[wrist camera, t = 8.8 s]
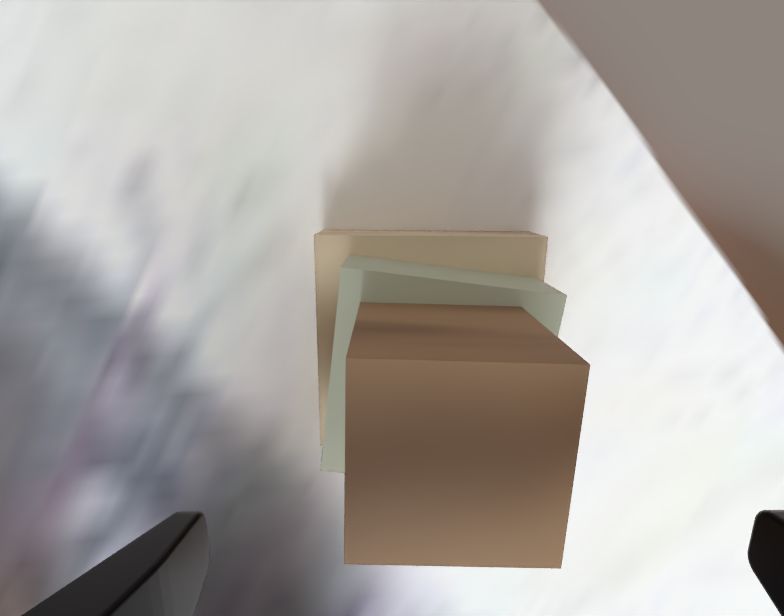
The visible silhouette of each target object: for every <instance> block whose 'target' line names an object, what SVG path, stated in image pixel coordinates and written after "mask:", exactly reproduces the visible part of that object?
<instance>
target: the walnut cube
mask: <svg viewBox="0 0 784 616" xmlns="http://www.w3.org/2000/svg"><path fill="white" fill-rule="evenodd" d="M589 369H590V364H589V363H587V362H586V361H585V360H584V359H583V358H582V357H580V356H579V355H578V354H577V353H576V352H574V351H573V350H572V349H571V348H570V347H569V346H567V345H566V344H565V343H564V342H563V341H561V340H560V339H559V338H558V337H557V336H556V335H554V334H553V333H552V332H551V331H550V330H548V329H547V328H546V327H545V326H544V325H543V324H541V323H540V322H539V321H538V320H537V319H535V318H534V317H533V316H532V315H531V314H530V313H528V312H527V311H526V310H525V309H524V308H522V307H516V306H481V305H445V304H410V303H375V302H360V305H359V309H358V313H357V316H356V320H355V324H354V328H353V332H352V336H351V339H350V343H349V347H348V351H347V355H346V375H345V514H344V564H363V565H413V566H463V567H514V568H561V565H562V558H563V551H564V544H565V537H566V530H567V523H568V516H569V509H570V502H571V495H572V488H573V481H574V474H575V467H576V460H577V453H578V446H579V439H580V432H581V425H582V418H583V411H584V404H585V397H586V390H587V383H588V376H589Z"/></svg>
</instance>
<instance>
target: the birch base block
mask: <svg viewBox="0 0 784 616" xmlns="http://www.w3.org/2000/svg"><path fill="white" fill-rule="evenodd" d="M547 240H548V237H546V236H543V235H539V234H535V233H531V232H514V231H395V230H322V231H320V232H319V233H317V234H315V235H314V250H315V282H316V313H317V345H318V376H319V408H320V440H321V446H323V439H324V429H325V420H326V410H327V400H328V390H329V381H330V371H331V361H332V351H333V342H334V332H335V322H336V312H337V303H338V293H339V283H340V273H341V266H342V265H343V263H344V262H345V260H346V259H347V257H348V256H349V254H350V255H358V256H366V257H374V258H382V259H390V260H397V261H405V262H413V263H421V264H429V265H437V266H445V267H453V268H461V269H469V270H477V271H484V272H492V273H500V274H508V275H516V276H524V277H532V278H537V279H539V280H541V281H543V282H544V274H545V262H546V251H547Z"/></svg>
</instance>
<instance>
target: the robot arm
mask: <svg viewBox="0 0 784 616" xmlns="http://www.w3.org/2000/svg"><path fill="white" fill-rule="evenodd" d="M748 560H749V563H750V566H751V568H752V570H753V572H754V573H755V575H756V576H757V578H758V580H759V581H760V583H761V584H762V586H763V587H764V589H765V591H766V592H767V594H768V595H769V597H770V598H771V600H772V602H773V603H774V605H775V606H776V608H777V609H778V611H779V613H780V614H781V616H784V510H763V511H760V512H759V513H758V514H757V515H756V517H755V521H754V525H753V530H752V534H751V538H750V543H749V547H748ZM209 561H210V552H209V543H208V534H207V525H206V518H205V516H204V514H203V513H202V512H199V511H181V512H176V513H175V514H173V515H171V516H170V517H168V518H167V519H165V520H164V521H162V522H161V523H159V524H158V525H156V526H155V527H153V528H152V529H150V530H149V531H147V532H146V533H144V534H143V535H141V536H140V537H138V538H137V539H135V540H134V541H132V542H131V543H129V544H128V545H126V546H125V547H123V548H122V549H120V550H119V551H117V552H116V553H114V554H113V555H111V556H110V557H108V558H107V559H105V560H104V561H102V562H101V563H99V564H98V565H96V566H95V567H93V568H92V569H90V570H89V571H87V572H86V573H84V574H83V575H81V576H80V577H78V578H77V579H75V580H74V581H72V582H71V583H69V584H68V585H66V586H65V587H63V588H62V589H60V590H59V591H57V592H56V593H55V594H53V595H52V596H50V597H49V598H47V599H46V600H44V601H43V602H41V603H40V604H38V605H37V606H35V607H34V608H32V609H31V610H29V611H28V612H26V613H25V614H23V615H22V616H193V615H194V612H195V609H196V606H197V603H198V599H199V596H200V593H201V590H202V587H203V584H204V581H205V577H206V574H207V571H208V567H209Z"/></svg>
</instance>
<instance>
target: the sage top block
mask: <svg viewBox="0 0 784 616" xmlns="http://www.w3.org/2000/svg"><path fill="white" fill-rule="evenodd" d="M566 297H567V295H566V294H564V293H562V292H560V291H558V290H557V289H555V288H553V287H551V286H550V285H548V284H546V283H544V282H543V281H541V280H539V279H537V278H532V277H524V276H516V275H508V274H500V273H492V272H484V271H477V270H469V269H461V268H453V267H445V266H437V265H429V264H421V263H413V262H405V261H397V260H390V259H382V258H374V257H366V256H358V255H350V254H349V256H348V257H347V259H346V260H345V262H344V263H343V265H342V266H341V273H340V283H339V293H338V303H337V312H336V322H335V332H334V342H333V351H332V361H331V371H330V381H329V390H328V400H327V410H326V420H325V429H324V439H323V449H322V459H321V468H320V470H323V471H332V472H341V473H345V375H346V355H347V351H348V347H349V343H350V339H351V336H352V332H353V328H354V324H355V320H356V316H357V313H358V309H359V305H360V302H375V303H410V304H445V305H481V306H516V307H522V308H524V309H525V310H526V311H527V312H528V313H530V314H531V315H532V316H533V317H534V318H535V319H537V320H538V321H539V322H540V323H541V324H543V325H544V326H545V327H546V328H547V329H548V330H550V331H551V332H552V333H553V334H554V335H556V336H557V337H558V333H559V329H560V324H561V320H562V315H563V311H564V306H565V302H566Z"/></svg>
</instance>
